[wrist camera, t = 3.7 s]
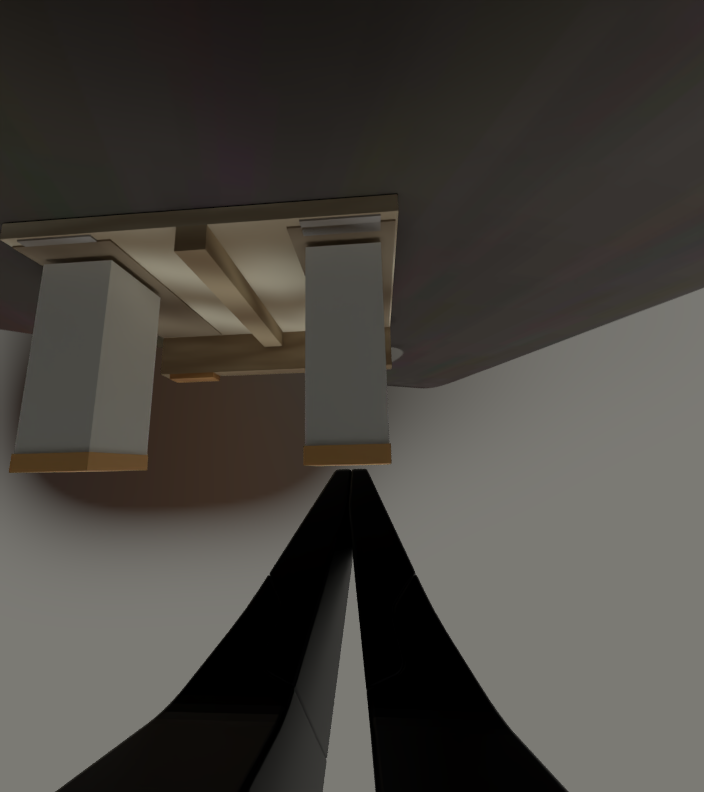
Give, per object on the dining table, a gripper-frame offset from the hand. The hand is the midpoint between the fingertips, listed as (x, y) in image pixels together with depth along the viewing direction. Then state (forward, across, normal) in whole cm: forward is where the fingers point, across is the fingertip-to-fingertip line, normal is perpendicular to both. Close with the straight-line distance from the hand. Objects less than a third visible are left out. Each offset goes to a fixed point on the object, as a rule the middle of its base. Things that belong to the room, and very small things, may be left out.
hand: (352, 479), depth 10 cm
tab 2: (+12, +1, -2) cm, 13 cm away
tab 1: (+12, +14, -2) cm, 19 cm away
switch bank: (+16, +7, -1) cm, 17 cm away
